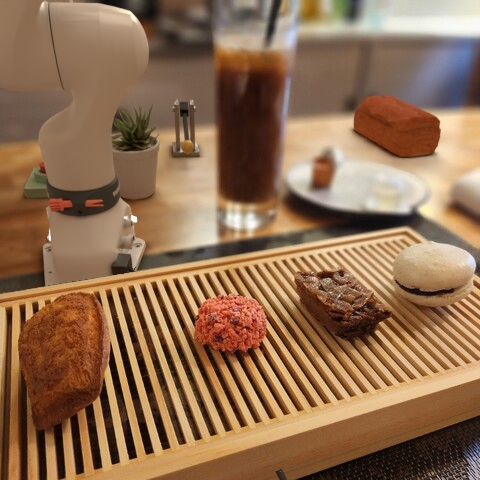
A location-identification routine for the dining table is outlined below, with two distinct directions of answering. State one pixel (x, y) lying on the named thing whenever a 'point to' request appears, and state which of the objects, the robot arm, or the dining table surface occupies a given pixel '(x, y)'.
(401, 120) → the bread
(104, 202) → the robot arm
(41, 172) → the lock button
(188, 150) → the lever
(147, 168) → the potted plant
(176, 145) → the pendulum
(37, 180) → the green button base
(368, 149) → the dining table surface
